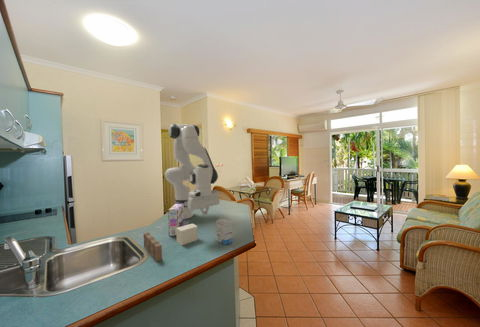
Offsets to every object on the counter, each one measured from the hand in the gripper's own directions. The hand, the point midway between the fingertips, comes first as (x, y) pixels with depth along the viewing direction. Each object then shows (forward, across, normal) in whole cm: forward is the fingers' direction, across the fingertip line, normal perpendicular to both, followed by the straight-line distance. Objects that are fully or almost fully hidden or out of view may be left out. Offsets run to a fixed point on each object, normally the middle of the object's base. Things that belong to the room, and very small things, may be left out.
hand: (204, 214), depth 116 cm
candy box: (+13, +10, -17) cm, 23 cm away
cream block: (+13, +11, -1) cm, 17 cm away
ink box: (+13, -4, +14) cm, 20 cm away
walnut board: (+13, +30, -1) cm, 33 cm away
